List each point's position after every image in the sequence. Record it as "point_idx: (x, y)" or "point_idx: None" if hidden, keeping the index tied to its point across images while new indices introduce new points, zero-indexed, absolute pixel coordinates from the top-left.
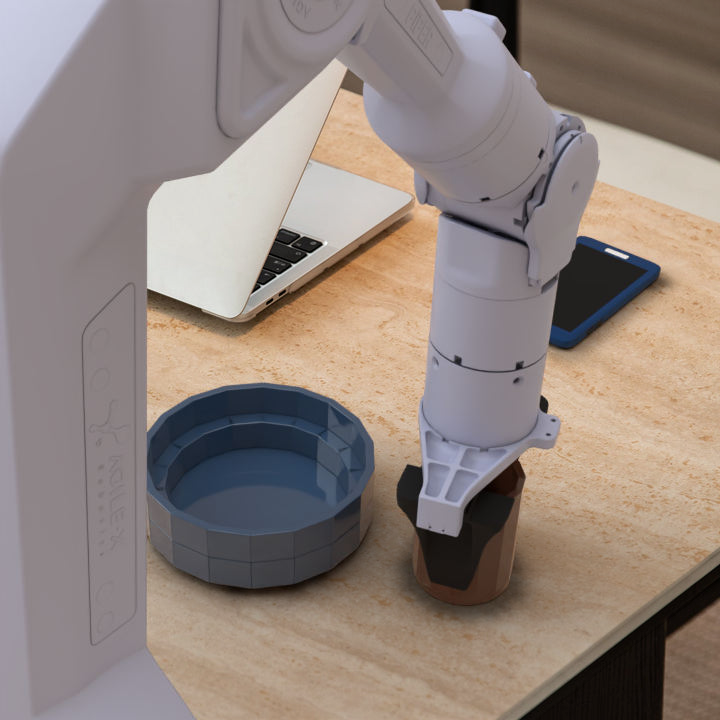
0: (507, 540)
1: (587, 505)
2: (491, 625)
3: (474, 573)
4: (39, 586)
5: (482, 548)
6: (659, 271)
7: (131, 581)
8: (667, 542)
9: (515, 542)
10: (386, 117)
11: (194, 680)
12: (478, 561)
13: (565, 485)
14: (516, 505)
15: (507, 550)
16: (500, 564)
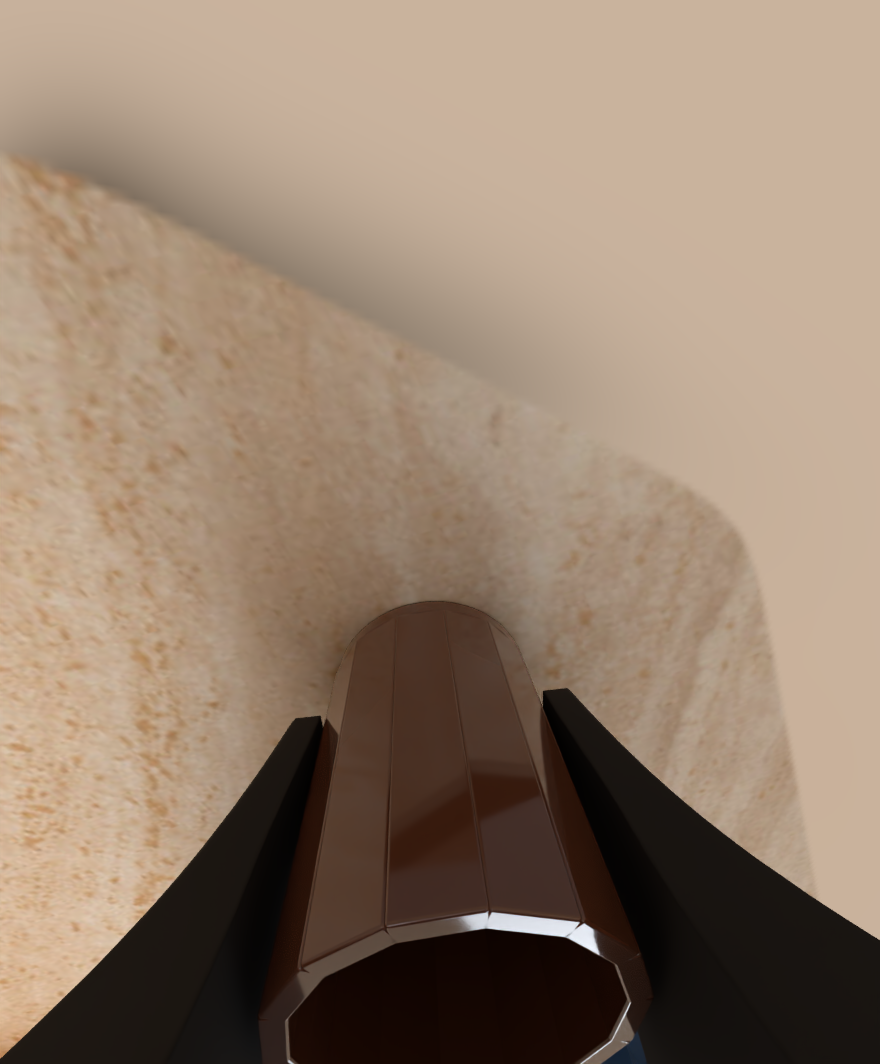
0: (495, 720)
1: (86, 529)
2: (546, 592)
3: (601, 725)
4: None
5: (729, 838)
6: None
7: None
8: (67, 291)
9: (419, 671)
10: None
11: (756, 854)
12: (642, 766)
13: (57, 592)
14: (505, 845)
15: (483, 688)
16: (498, 671)
